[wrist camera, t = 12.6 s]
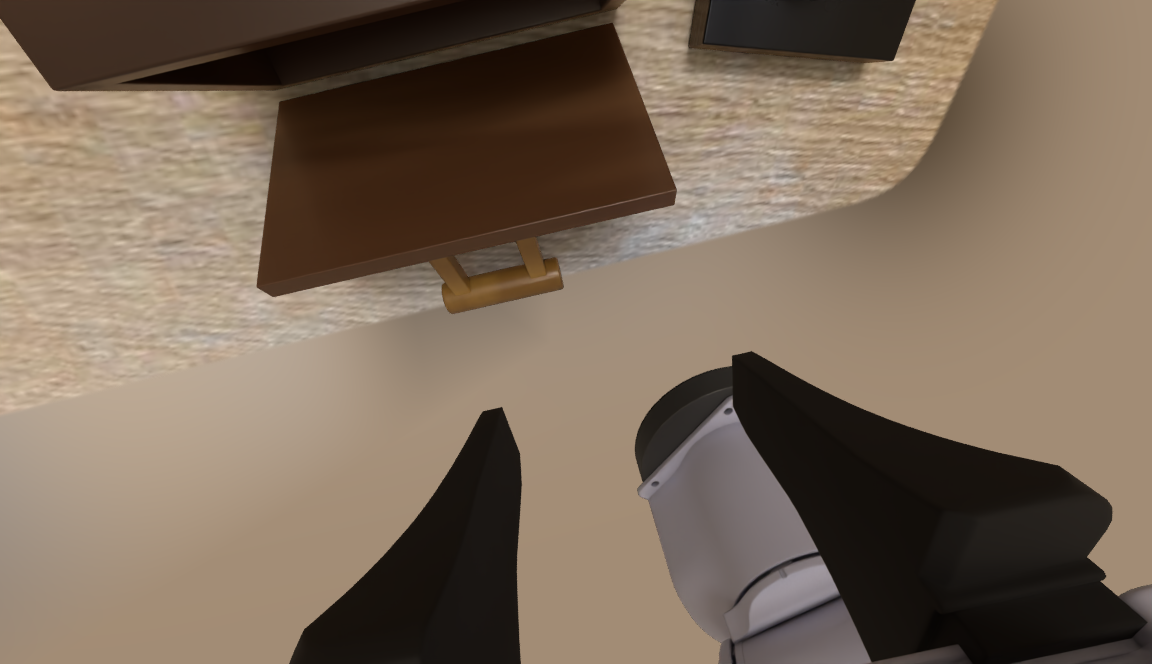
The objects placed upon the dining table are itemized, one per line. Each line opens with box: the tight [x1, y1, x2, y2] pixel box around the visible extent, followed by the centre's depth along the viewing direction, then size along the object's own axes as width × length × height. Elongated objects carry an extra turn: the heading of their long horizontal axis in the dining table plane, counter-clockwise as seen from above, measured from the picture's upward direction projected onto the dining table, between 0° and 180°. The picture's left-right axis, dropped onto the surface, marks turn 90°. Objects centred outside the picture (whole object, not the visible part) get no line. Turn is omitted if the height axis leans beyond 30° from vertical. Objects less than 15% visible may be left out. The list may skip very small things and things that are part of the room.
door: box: [257, 23, 677, 314], centre depth 17 cm, size 6×13×8 cm
